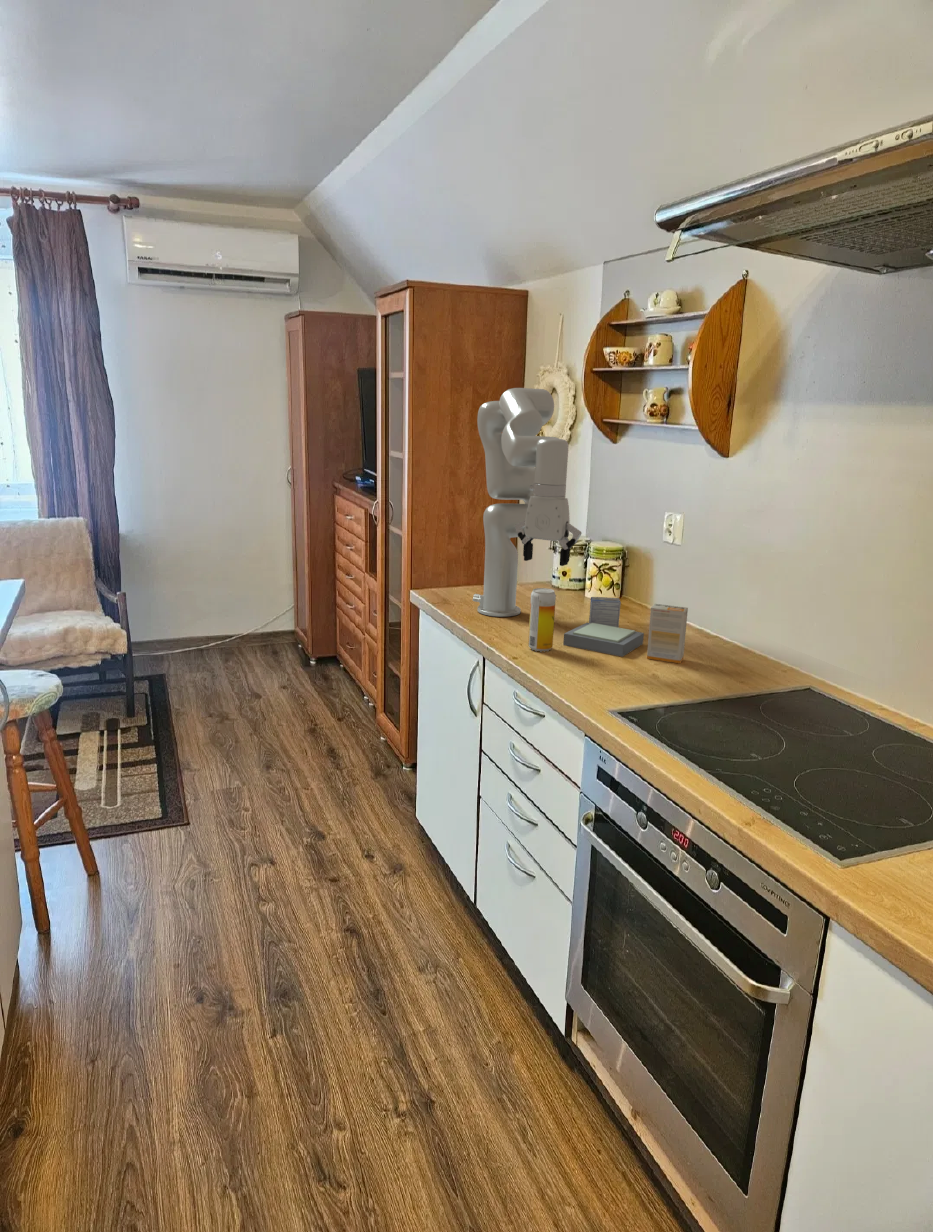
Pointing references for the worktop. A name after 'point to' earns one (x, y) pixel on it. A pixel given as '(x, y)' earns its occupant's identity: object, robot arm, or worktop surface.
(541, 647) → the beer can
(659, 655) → the supplement box
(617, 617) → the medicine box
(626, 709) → the worktop surface
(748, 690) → the worktop surface
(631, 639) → the raised board
